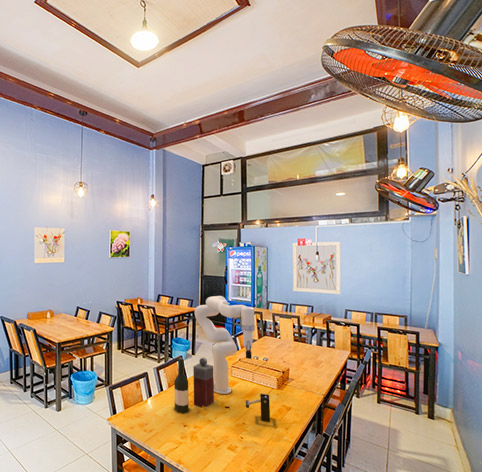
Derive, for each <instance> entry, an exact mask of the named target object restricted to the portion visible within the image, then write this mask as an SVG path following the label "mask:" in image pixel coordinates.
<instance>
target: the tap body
mask: <svg viewBox="0 0 482 472" xmlns="http://www.w3.org/2000/svg"><path fill="white" fill-rule="evenodd" d="M263 396H267V397H263ZM259 397H260V398H259V399H261V402H260V421H261V422H268V423H270V422H271V409H270V407H271V405H270V403H271V402H270V394H267V393H260V396H259Z"/></svg>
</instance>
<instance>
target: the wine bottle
mask: <svg viewBox="0 0 482 472" xmlns="http://www.w3.org/2000/svg"><path fill="white" fill-rule="evenodd" d="M177 367H178V368H177V369H178V371H177V372H178V373H177V375H176V377H175V379H174V411H175V412H177V413H178V414H179V413H181V414H185V413H188V412H189V406H190V405H189V404H190V403H189V379H188V378H187V376H186V375H185V360H184V358H183V357H178V360H177Z"/></svg>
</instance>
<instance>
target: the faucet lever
mask: <svg viewBox="0 0 482 472" xmlns="http://www.w3.org/2000/svg"><path fill="white" fill-rule="evenodd" d="M263 397H267V396H263ZM258 403H261V399H260V398H258V399H256V400H252V401H249V400H248V399H247V400H245V408H246V409H249V408H250V406H251V405H254V404H258Z"/></svg>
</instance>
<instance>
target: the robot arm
mask: <svg viewBox="0 0 482 472" xmlns="http://www.w3.org/2000/svg"><path fill="white" fill-rule="evenodd" d="M219 314H221V316H224V317H226V318H230V319H235V318H240V321H241V323H240V324H241V325H240V326H241V331H242V338H243V339H242V341H243V348H245V358H246V359H249V360H252V355H253V354H252V348H253V343H254V342H253V341H254V340H253V338H254V337H253V336H254V335H253V334H254V333H253V332H255V331H256V330H255V329H256V328H255V309H254V308H253V307H252V306H246V305H245V304H233V305H229V302H228V301H227V300H226V298H225V297H224V296H223V295H213V296H209V297H207V298H206V299H205V304H200V305H198V306H196V307H195V308H194V317H195V319H196V321H197V323H198V325H199V326H200V327H201V328H202V331H203V333H204V334H205V336H206V338H207V340H208V342H210V343H212V344H213V345H212V346H211V352H212V353H211V354H212V357H213V358H212V359H213V378H214V393H216V394H219V395H228V394H231V392H232V388H231V387H230V384H229V383H230V381H229V380H230V379H229V362H228V360H227V358H226V357H231V356H235V355H237V352H238V347H237V344H236V343H235V340H234V338H233V337H232V335H231V334H230V332H229V331H228V330H227V329H226V327H225V328H224V327H216V325H214V323H213V321H212V320H210V318H208V317H215V316H217V315H219Z"/></svg>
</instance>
